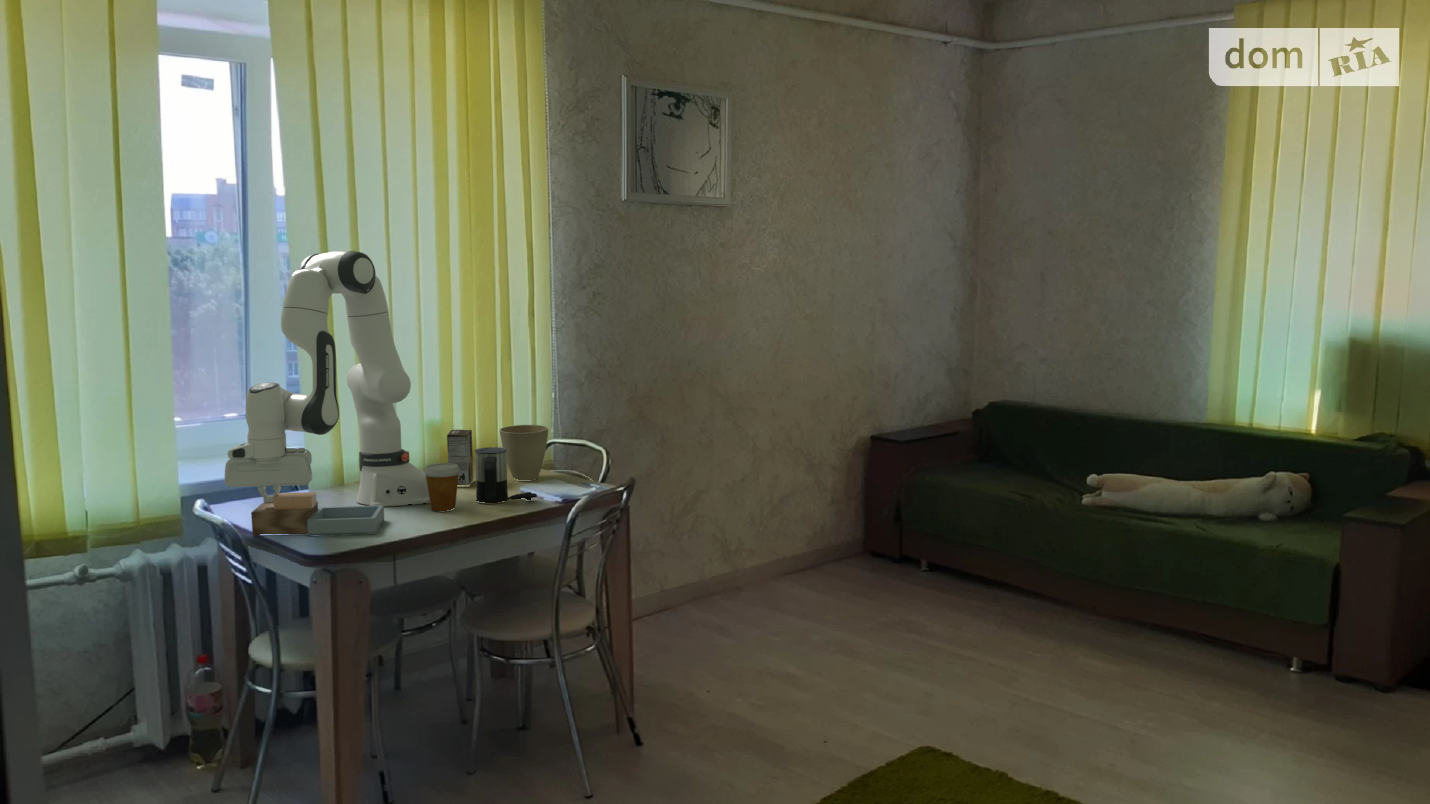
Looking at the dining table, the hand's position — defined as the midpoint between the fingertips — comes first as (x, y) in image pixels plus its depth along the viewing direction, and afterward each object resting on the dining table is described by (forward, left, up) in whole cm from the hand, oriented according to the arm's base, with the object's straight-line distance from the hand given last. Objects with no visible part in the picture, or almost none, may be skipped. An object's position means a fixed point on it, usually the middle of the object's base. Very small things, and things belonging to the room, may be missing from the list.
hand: (270, 503), depth 265 cm
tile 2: (-8, 0, -1) cm, 8 cm away
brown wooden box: (-4, 0, -7) cm, 8 cm away
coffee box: (-42, -49, -7) cm, 65 cm away
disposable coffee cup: (-40, -17, -7) cm, 44 cm away
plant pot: (-61, -54, -7) cm, 82 cm away
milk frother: (-57, -24, -7) cm, 62 cm away
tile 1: (-4, 0, -1) cm, 4 cm away
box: (-18, 0, -7) cm, 20 cm away
